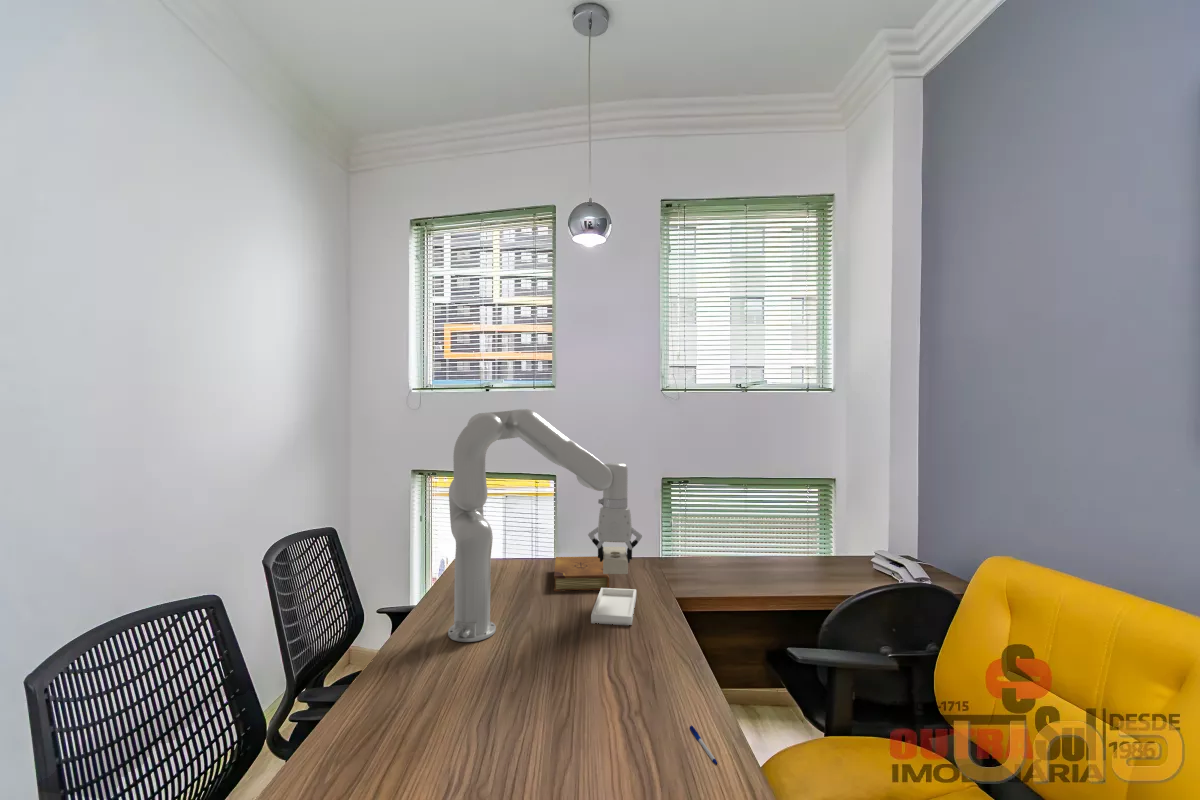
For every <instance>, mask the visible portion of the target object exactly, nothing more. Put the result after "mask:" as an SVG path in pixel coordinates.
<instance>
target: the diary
mask: <svg viewBox="0 0 1200 800" xmlns="http://www.w3.org/2000/svg"><path fill="white" fill-rule="evenodd" d="M609 575H610V574H603V561H602V562H600V558H598V555H597V556H594V555H593V556H591V555H590V556H555V562H554V573H553V579H554V585H553V586H554V587H553V591H554V592H561V591H560V590H600V589H601V588H610V576H609Z"/></svg>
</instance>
